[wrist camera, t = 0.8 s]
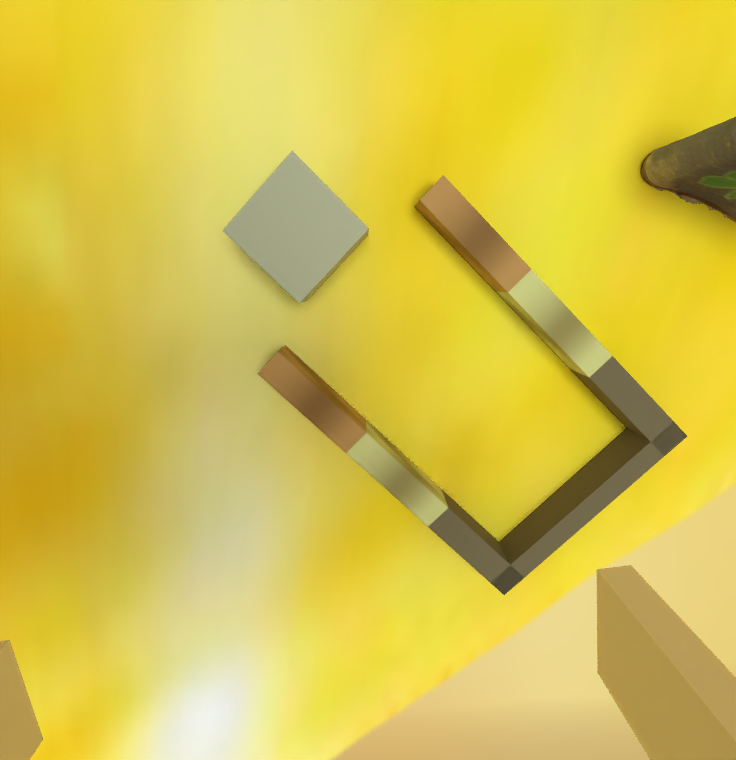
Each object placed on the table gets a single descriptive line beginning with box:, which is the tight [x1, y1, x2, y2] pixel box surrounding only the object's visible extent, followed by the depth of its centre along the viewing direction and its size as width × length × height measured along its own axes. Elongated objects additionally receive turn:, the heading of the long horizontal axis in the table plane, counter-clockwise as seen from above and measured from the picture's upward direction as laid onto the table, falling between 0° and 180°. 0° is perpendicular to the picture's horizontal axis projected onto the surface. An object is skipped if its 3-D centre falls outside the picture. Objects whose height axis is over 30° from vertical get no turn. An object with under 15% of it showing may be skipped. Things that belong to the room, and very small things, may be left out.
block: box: [223, 151, 369, 303], centre depth 30 cm, size 6×6×5 cm
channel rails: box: [258, 175, 612, 526], centre depth 33 cm, size 16×17×3 cm
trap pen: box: [428, 356, 687, 595], centre depth 35 cm, size 8×17×3 cm, turn 136°
